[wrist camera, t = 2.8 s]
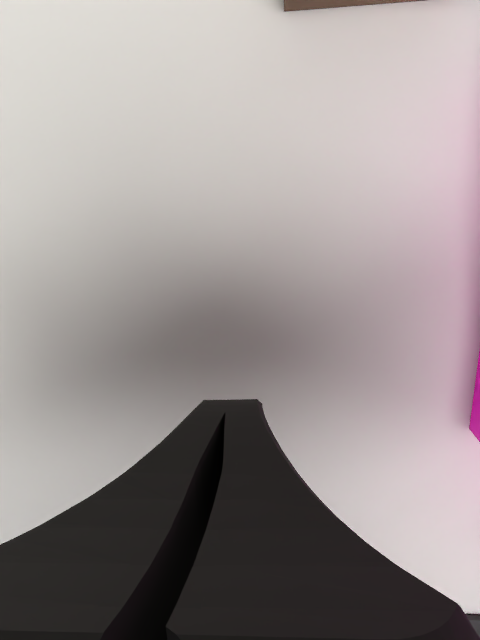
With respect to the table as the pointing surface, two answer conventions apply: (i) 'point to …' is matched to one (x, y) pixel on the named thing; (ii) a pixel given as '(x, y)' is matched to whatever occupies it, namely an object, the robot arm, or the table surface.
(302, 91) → the table surface
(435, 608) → the robot arm
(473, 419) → the toy block
